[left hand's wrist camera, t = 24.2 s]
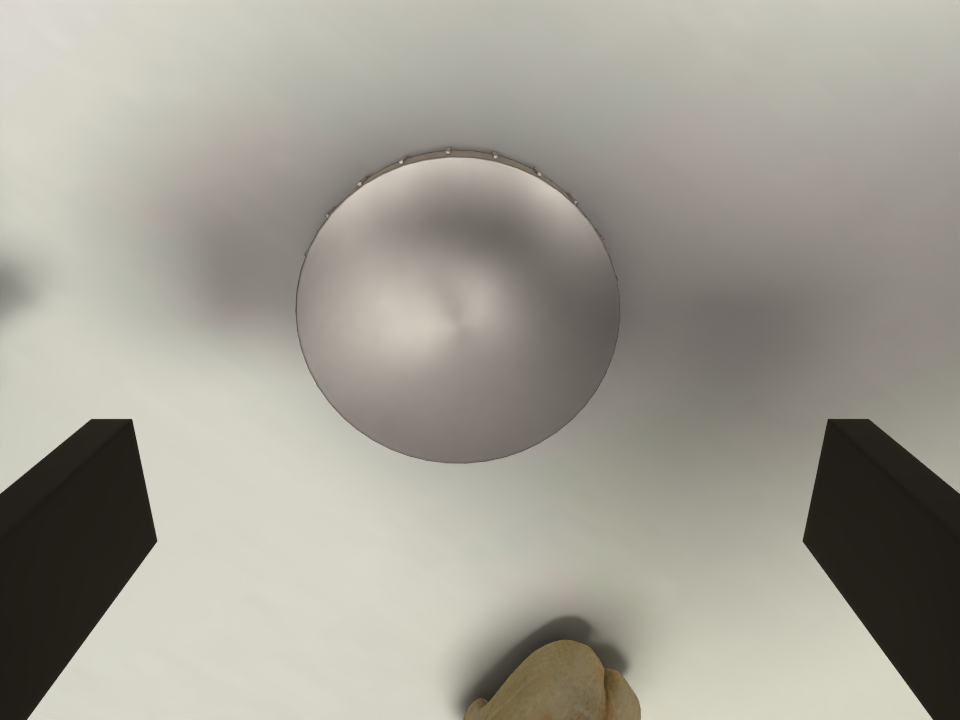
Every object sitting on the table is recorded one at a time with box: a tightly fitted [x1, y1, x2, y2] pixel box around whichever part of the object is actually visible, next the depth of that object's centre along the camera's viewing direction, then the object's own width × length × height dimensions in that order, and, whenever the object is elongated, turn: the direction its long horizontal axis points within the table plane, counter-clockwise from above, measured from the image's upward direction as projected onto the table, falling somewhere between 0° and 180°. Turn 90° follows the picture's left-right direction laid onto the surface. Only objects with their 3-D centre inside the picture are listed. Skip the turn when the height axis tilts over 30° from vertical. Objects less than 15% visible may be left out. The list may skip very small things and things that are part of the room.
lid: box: [296, 147, 620, 463], centre depth 20 cm, size 10×10×2 cm
